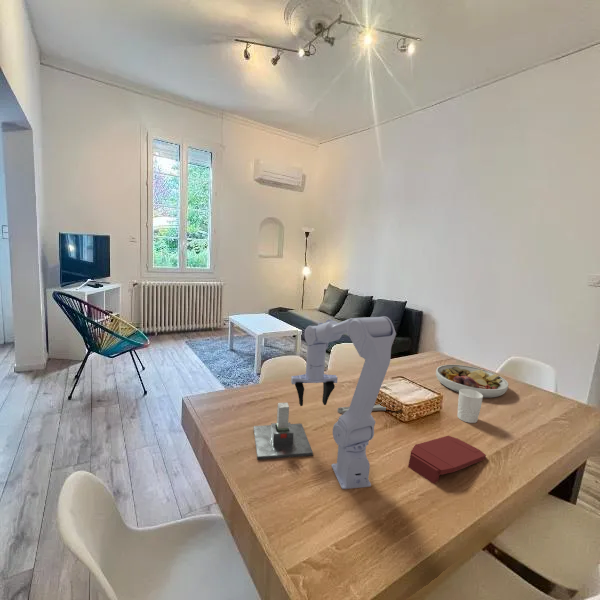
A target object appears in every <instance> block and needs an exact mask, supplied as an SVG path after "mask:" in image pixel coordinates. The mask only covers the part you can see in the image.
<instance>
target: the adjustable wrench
mask: <svg viewBox="0 0 600 600" xmlns="http://www.w3.org/2000/svg"><path fill="white" fill-rule="evenodd" d="M380 404H381V403H379V404H374V407H373V409H372V412H373V411H376V412H377V411H384V412H385V411H386V407H383V406H381V405H380ZM349 407H350V406H342V407H338V408H337V413H339V414H344V413H345V412H346V411H347V410H349ZM386 412H387V411H386Z"/></svg>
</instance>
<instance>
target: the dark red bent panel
mask: <svg viewBox="0 0 600 600" xmlns="http://www.w3.org/2000/svg"><path fill="white" fill-rule="evenodd" d="M486 456H487V454H486V453H484V452H483V451H482V450H480V449H479V448H477V447H475V446H473V445H471V444H469V443H467V442H465V441H463V440H461V439H460V438H456V437H453V436H450V435H446V436H442V437H439V438H434V439H431V440H428V441H424V442H420V443H416V444H414V446H413V447H412V449H411V451H410V455H409V459H408V460H409V461H408V465H407V467H408V468H409V469H410V470H412V471H413V472H415V473H416V474H418V475H420V476H421V477H422V478H424V479H426V480H427V481H428V482H429V483H431V484H433V485H435V484H437V483H438V482H439V479H440V475H442V476H443V475H446V474H452V473H455V472H459V471H460V470H463V469H465V468H468V467H470V466H471V465H475V464H477V463H479V462H482V461H484V460H485V459H486V458H487V457H486Z"/></svg>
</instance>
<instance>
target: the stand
mask: <svg viewBox="0 0 600 600" xmlns="http://www.w3.org/2000/svg"><path fill="white" fill-rule="evenodd" d="M276 424H277V422H272V423H271V424H268V425H254V426H253V435H254V443H255V450H256V451H255V452H256V459H257V461H261V460H271V459H272V460H275V459H285V458H298V457H299V458H300V457H312V456H314V452H313V449H312V446H311V444H310V441H309V439H308V437H307V434H306V432H305V428H304V427H303V424H302V423H291V422H289V421H288V431H282V432H278V431H277V426H276Z"/></svg>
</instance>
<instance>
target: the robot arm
mask: <svg viewBox="0 0 600 600" xmlns="http://www.w3.org/2000/svg"><path fill="white" fill-rule="evenodd" d="M343 335H347V337H349V338H350V340H351V342H352V344H353V347H354V348H355V350H356V352H357V353H358V355H359V357H360V358H362V359H364V363H363V366H362V368H361V371H360V375H359V378H358V381H357V384H356V386H355V390H354V393H353V395H352V398H351V401H350V404H349V406H348V407H349V410H347V411H346V412H345V413H341V415H340V416H339V417H338V420H337V421H336V422H335V423H334V424H333V426H332V436H333V440H334V442H335V444H336V445H337V446H338V447H337V458H336V463H332V464H331V468H332V471H333V472H334V475H335V477H336V479H337V482H338V483H339V486H340V488H341V490H348V489H349V490H350V489H357V488H358V489H359V488H370V487H371V486H372V483H371V482H370V481H371V480H369V477H370V468H371V465H370V462H369V459H368V457H367V451H366V450H367V446H368V445H369V443H370V441H372V440H373V438H374V436H375V425H376V420H375V418H374V416H373V415H372V412H373V411H372V409H373V407H374V405H376V402H377V398H378V397H379V393H380V390H381V388H382V385H383V382H384V379H385V377H386V374H387V371H388V369H389V366H390V363H391V354H392V346H393V343H394V342H395V341H394V340H395V338H396V336H397V332H396V330H395V326H394V323H393V322H392V320H391V318H390V317H388V316H384V315H383V316H370V317H369V316H368V317H366V316H363V317H351V318H348V319H346V320H343V321H340V322H338V321H336V320H333V319H326V320H325V322H318V323H317V325H308V326H306V328H305V330H304V340H305V343H306V344H307V349H306V363H305V366H306V367H305V373H303V374H298V375H291V376H290V377H291V378H290V379H291V380H290V383H291V384H292V385H294V386H295V389H296V392H297V395H298V404H299V406H300V407H303V406H304V392H305V387H304V384H319V383H322V388H323V389H322V390H323V391H322V392H323V393H322V404H323V405H324V406H327V404H328V400H329V398H330V396H331V394H332V393H333V391H334V389H335V384H337V383H338V376H337V375H336V374H326V373H325V368H326V366H325V365H326V364H325V363H326V351H327V349H328V348H329V347H328V346H329V343H331V342H336V341H339V340H340V339H341V338H342V336H343Z"/></svg>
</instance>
